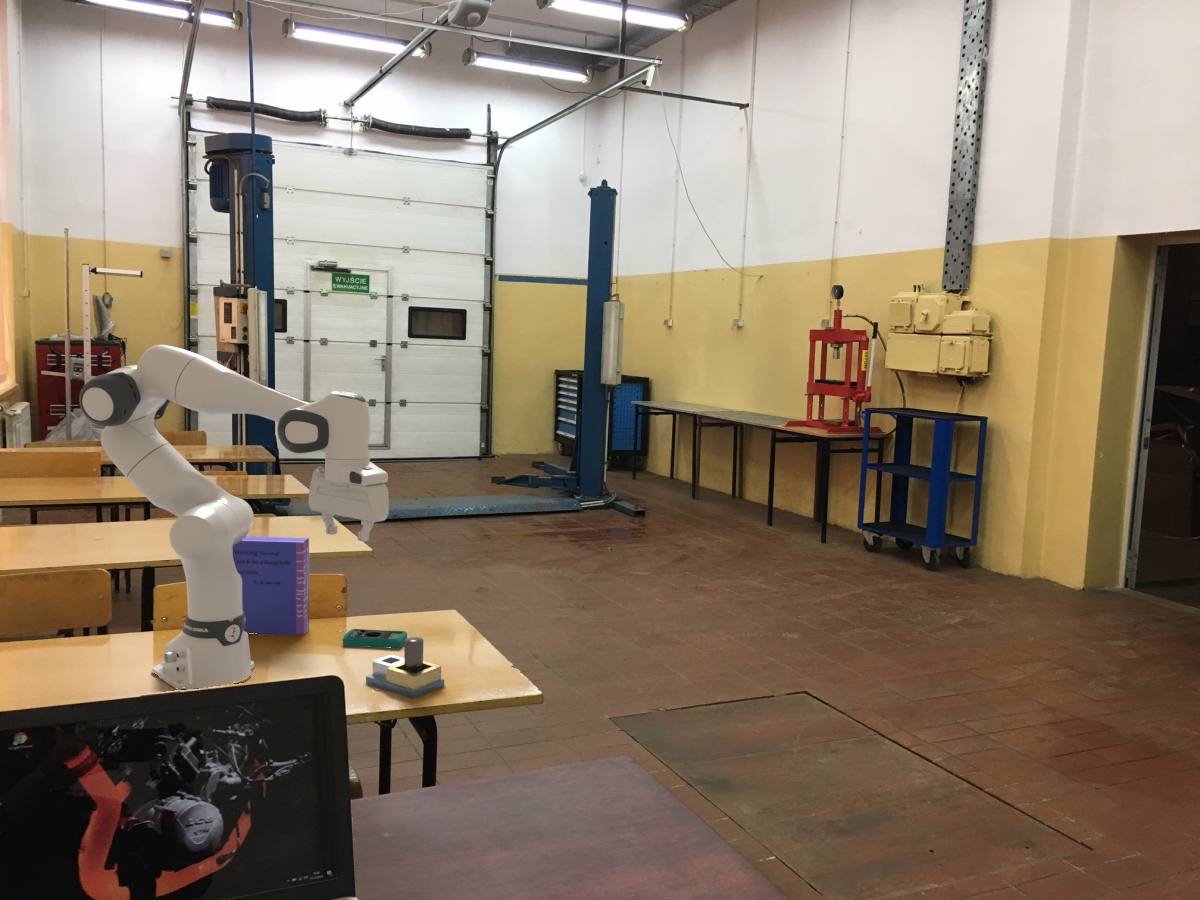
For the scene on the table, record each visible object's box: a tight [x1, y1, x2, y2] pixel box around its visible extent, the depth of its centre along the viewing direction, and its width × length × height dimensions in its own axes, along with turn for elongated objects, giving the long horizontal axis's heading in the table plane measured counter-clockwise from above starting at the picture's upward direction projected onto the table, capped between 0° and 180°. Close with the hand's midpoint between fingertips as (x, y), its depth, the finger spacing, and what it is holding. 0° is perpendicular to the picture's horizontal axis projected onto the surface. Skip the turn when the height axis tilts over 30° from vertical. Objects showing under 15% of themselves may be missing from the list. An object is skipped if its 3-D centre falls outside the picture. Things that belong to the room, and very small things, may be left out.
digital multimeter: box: [342, 628, 408, 649], centre depth 235 cm, size 7×15×3 cm, turn 86°
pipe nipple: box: [403, 636, 424, 674], centre depth 206 cm, size 4×4×9 cm
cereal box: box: [232, 535, 311, 636], centre depth 240 cm, size 17×5×24 cm, turn 91°
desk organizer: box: [365, 654, 445, 699], centre depth 208 cm, size 14×9×4 cm, turn 57°
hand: (347, 537), depth 197 cm, fingers open, 8 cm apart
